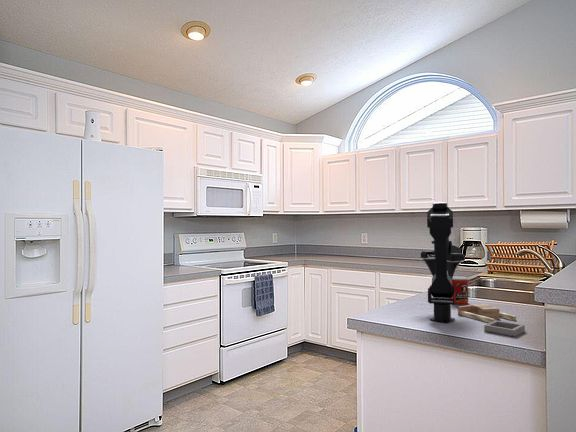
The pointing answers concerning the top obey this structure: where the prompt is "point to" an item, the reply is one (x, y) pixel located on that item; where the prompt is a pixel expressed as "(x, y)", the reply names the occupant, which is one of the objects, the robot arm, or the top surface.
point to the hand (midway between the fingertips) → (442, 277)
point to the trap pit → (504, 328)
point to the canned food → (460, 289)
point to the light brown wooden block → (486, 311)
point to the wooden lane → (467, 312)
